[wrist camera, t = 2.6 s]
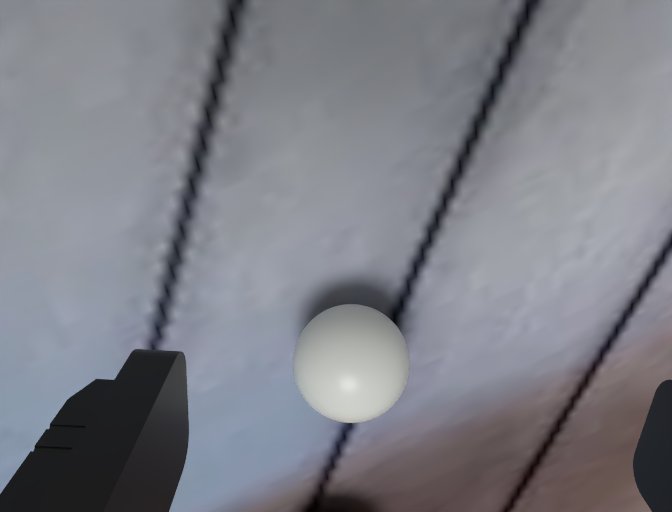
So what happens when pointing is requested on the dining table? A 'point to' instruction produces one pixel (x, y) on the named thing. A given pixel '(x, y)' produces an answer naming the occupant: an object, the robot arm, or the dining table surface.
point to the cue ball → (351, 363)
